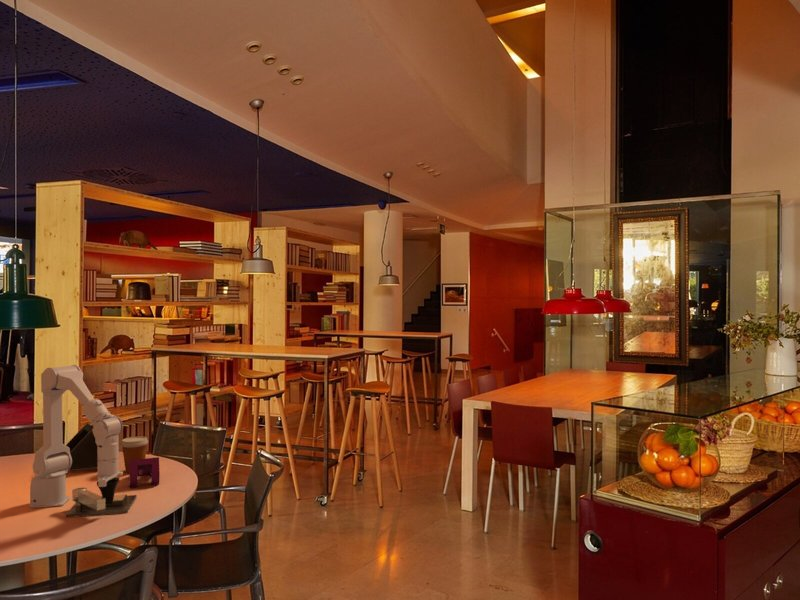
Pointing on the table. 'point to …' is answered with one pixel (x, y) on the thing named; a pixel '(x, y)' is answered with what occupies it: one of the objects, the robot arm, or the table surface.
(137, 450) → the disposable coffee cup
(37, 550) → the table surface
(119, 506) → the tray
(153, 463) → the mounting bracket
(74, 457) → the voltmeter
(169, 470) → the table surface
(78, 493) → the beige rectangular bar
